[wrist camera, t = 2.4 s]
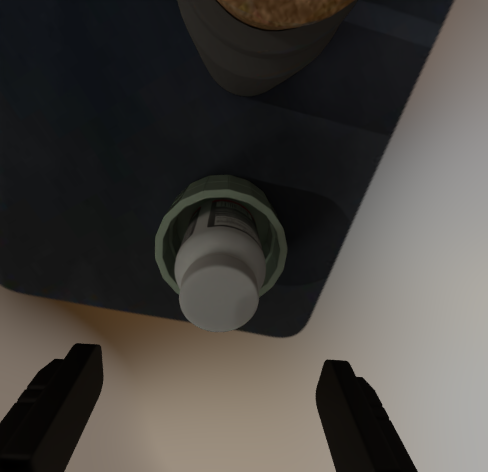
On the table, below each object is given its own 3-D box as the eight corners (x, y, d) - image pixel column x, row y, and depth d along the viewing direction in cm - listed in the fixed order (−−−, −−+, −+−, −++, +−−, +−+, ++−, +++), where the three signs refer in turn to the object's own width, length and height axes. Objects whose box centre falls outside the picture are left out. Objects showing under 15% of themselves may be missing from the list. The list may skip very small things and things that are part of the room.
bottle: (281, -22, 18) (468, -524, 4) (299, 83, 20) (457, 11, 6) (189, 7, 18) (50, -352, 4) (217, 107, 20) (188, 92, 6)
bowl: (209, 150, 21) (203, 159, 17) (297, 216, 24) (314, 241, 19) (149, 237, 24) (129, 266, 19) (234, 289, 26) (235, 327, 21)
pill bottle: (212, 269, 25) (202, 358, 16) (175, 218, 23) (140, 286, 14) (268, 238, 24) (291, 314, 15) (234, 183, 22) (237, 231, 13)
